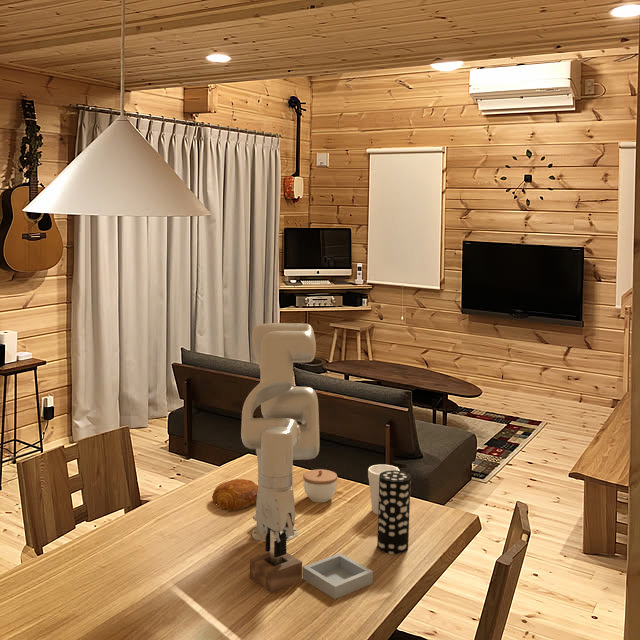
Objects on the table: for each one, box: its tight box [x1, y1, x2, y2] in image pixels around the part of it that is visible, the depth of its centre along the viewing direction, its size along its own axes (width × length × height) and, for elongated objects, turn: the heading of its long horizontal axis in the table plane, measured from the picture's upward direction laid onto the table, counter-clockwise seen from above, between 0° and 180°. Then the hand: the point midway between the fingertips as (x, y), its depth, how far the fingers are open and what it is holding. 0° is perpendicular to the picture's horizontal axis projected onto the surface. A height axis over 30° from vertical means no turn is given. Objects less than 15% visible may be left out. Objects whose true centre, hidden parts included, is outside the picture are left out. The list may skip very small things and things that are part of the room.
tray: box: [302, 552, 374, 600], centre depth 172 cm, size 12×12×4 cm
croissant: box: [211, 478, 258, 512], centre depth 222 cm, size 14×16×8 cm
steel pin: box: [269, 529, 282, 566], centre depth 172 cm, size 3×3×12 cm
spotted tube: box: [376, 470, 412, 555], centre depth 191 cm, size 8×8×20 cm
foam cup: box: [367, 464, 401, 515], centre depth 216 cm, size 10×9×13 cm
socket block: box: [249, 551, 303, 595], centre depth 172 cm, size 9×9×6 cm
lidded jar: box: [302, 468, 338, 503], centre depth 225 cm, size 11×11×9 cm
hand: (275, 552), depth 171 cm, fingers closed on steel pin, 2 cm apart
